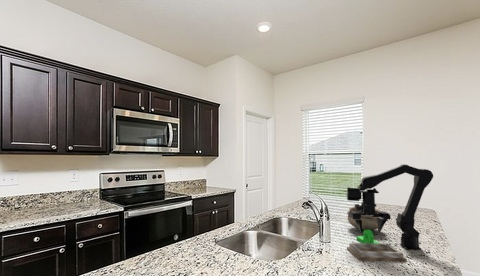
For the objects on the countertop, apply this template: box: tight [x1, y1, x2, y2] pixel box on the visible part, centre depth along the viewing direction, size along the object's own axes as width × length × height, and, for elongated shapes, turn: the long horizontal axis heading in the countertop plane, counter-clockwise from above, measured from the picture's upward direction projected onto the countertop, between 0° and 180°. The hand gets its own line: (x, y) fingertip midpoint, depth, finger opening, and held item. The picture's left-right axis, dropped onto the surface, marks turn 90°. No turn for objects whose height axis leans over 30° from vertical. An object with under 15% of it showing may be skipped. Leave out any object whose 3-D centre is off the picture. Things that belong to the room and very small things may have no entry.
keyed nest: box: [346, 242, 408, 262], centre depth 112 cm, size 20×13×3 cm, turn 88°
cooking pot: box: [346, 206, 382, 232], centre depth 150 cm, size 25×19×12 cm
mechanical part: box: [356, 230, 380, 243], centre depth 127 cm, size 12×6×8 cm, turn 5°
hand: (369, 232), depth 127 cm, fingers open, 9 cm apart
